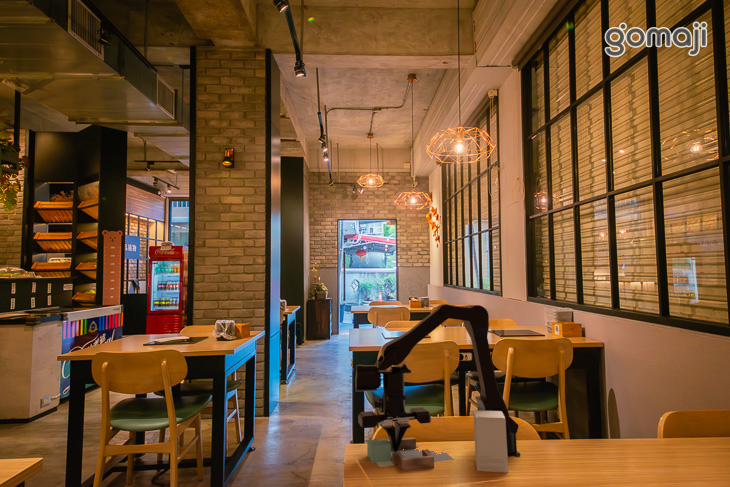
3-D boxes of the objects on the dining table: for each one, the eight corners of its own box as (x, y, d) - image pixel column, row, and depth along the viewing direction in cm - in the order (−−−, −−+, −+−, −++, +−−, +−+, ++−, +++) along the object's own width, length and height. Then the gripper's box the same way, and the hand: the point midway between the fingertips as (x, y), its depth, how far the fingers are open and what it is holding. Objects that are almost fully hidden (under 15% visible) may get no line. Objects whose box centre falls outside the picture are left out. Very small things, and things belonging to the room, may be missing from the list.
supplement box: (509, 474, 101) (506, 418, 103) (476, 472, 103) (474, 416, 104) (505, 462, 108) (502, 410, 110) (475, 461, 110) (472, 409, 111)
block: (385, 454, 115) (385, 438, 115) (391, 460, 110) (390, 444, 110) (367, 455, 113) (367, 440, 114) (372, 462, 109) (371, 446, 109)
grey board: (436, 445, 122) (436, 444, 122) (454, 460, 110) (453, 459, 110) (367, 452, 117) (367, 450, 117) (378, 468, 106) (378, 466, 106)
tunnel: (414, 447, 120) (414, 437, 121) (436, 468, 105) (435, 456, 105) (381, 450, 118) (381, 440, 119) (399, 472, 103) (398, 460, 103)
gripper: (416, 382, 125) (418, 439, 123) (353, 386, 121) (354, 445, 119) (430, 390, 114) (432, 452, 112) (362, 394, 110) (363, 459, 108)
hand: (395, 451), depth 113 cm, fingers closed
